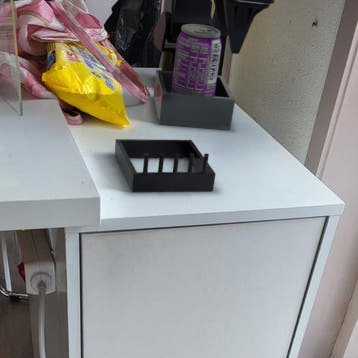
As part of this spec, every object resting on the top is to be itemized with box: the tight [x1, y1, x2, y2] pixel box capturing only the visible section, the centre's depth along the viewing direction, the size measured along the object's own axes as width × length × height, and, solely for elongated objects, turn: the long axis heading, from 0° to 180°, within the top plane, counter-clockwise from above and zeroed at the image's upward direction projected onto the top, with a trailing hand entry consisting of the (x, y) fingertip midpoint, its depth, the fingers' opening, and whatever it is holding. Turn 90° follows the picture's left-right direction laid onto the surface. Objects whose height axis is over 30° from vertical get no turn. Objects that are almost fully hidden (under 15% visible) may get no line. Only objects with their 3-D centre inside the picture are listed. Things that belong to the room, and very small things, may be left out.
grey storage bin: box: [152, 69, 236, 131], centre depth 107 cm, size 12×12×5 cm
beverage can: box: [171, 24, 223, 96], centre depth 104 cm, size 7×7×12 cm
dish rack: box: [114, 138, 217, 193], centre depth 88 cm, size 11×11×5 cm
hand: (229, 44), depth 94 cm, fingers open, 9 cm apart
